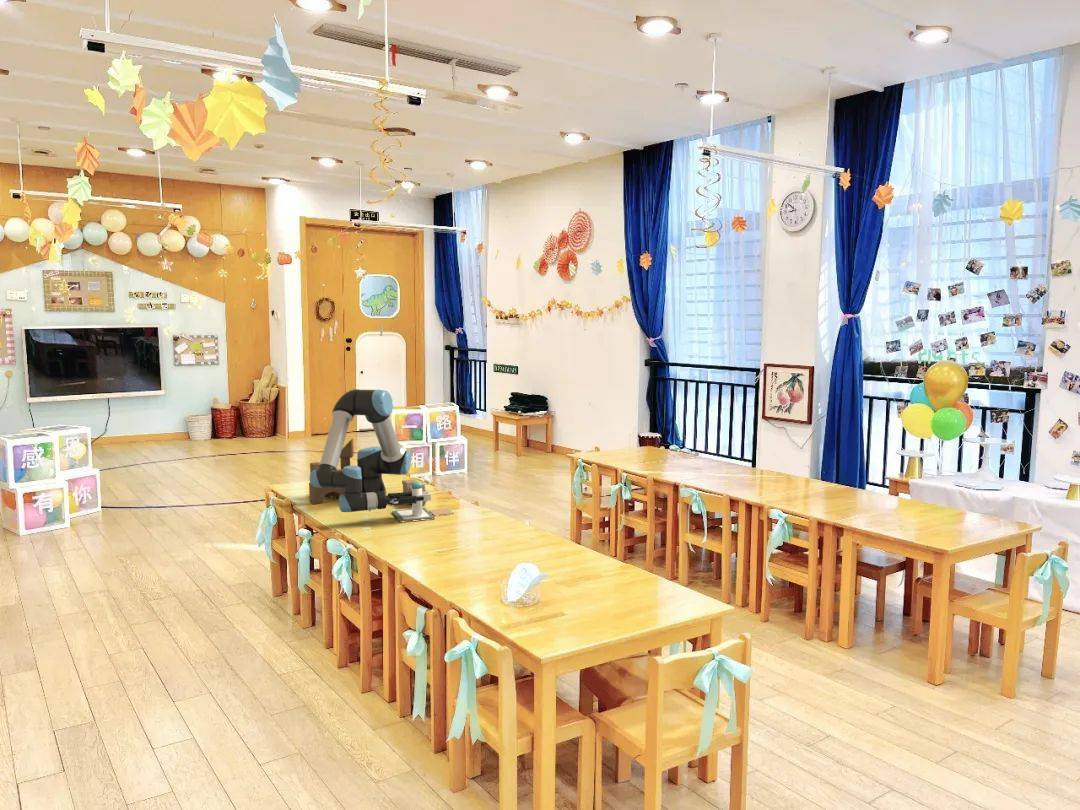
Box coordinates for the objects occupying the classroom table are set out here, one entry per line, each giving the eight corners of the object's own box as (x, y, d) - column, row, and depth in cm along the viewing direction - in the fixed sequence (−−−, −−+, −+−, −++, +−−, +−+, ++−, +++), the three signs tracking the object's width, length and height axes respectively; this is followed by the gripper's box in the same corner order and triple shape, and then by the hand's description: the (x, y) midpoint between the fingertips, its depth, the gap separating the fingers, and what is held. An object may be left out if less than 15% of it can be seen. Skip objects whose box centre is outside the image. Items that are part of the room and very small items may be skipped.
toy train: (416, 508, 367) (415, 486, 366) (402, 500, 381) (401, 480, 380) (427, 506, 370) (426, 485, 368) (413, 498, 384) (412, 478, 383)
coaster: (429, 511, 360) (429, 510, 360) (448, 509, 364) (448, 508, 364) (434, 516, 352) (434, 515, 352) (453, 514, 356) (453, 513, 355)
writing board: (392, 512, 358) (392, 510, 358) (424, 509, 364) (424, 507, 364) (400, 522, 342) (400, 520, 342) (434, 519, 348) (434, 517, 347)
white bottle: (411, 513, 351) (410, 482, 350) (421, 512, 353) (420, 481, 351) (413, 515, 347) (412, 484, 345) (423, 514, 349) (423, 483, 347)
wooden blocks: (347, 490, 402) (345, 435, 398) (362, 498, 386) (360, 441, 382) (299, 496, 388) (297, 440, 385) (312, 505, 372) (310, 446, 368)
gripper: (372, 504, 351) (424, 499, 360) (380, 514, 335) (434, 508, 344) (372, 487, 350) (424, 483, 359) (379, 496, 334) (433, 491, 343)
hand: (429, 495), depth 351 cm, fingers closed on white bottle, 4 cm apart
